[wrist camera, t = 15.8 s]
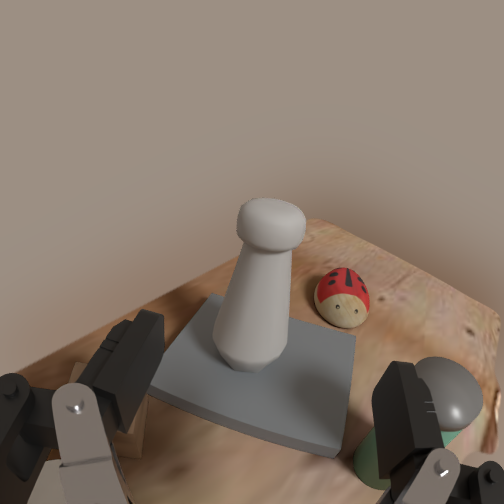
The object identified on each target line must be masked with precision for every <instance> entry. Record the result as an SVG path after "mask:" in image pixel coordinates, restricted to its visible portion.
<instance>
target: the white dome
mask: <svg viewBox="0 0 504 504" xmlns="http://www.w3.org/2000/svg"><path fill="white" fill-rule="evenodd" d="M60 465H61V459H56V460H49V461H46V462H45V464H44V466H43V468H42V470H41V472H40V475H39V477H38V479H37V481H36V484H35V486H34V488H33V491H32V493H31V495H30V498H29V500H28V503H27V504H67V503H66V499H65V496H64V492H63V488H62V484H61V480H60V476H59V466H60Z"/></svg>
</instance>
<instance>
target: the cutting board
mask: <svg viewBox="0 0 504 504" xmlns="http://www.w3.org/2000/svg"><path fill="white" fill-rule="evenodd" d="M223 300H224V297H223V296H220V295H217V294H214V293H212V294H211V295H210V296H209V297H208V299H207V300H206V301H205V303H204V304H203V305H202V306H201V308H200V309H199V310H198V311H197V313H196V314H195V315H194V316H193V318H192V319H191V320H190V321H189V323H188V324H187V325H186V326H185V328H184V329H183V330H182V331H181V333H180V334H179V335H178V336H177V338H176V339H175V340H174V341H173V343H172V344H171V345H170V346H169V348H168V349H167V350H166V351H165V353H164V354H163V357H162V360H161V363H160V365H159V367H158V369H157V371H156V373H155V375H154V377H153V379H152V381H151V383H150V386H149V388H148V390H147V394H149V395H151V396H153V397H155V398H157V399H159V400H162V401H164V402H166V403H168V404H170V405H173V406H175V407H177V408H179V409H182V410H184V411H186V412H189V413H191V414H194V415H196V416H198V417H201V418H203V419H206V420H208V421H211V422H214V423H216V424H219V425H222V426H224V427H227V428H230V429H233V430H235V431H238V432H241V433H244V434H247V435H250V436H253V437H256V438H259V439H262V440H265V441H269V442H272V443H275V444H279V445H282V446H286V447H289V448H293V449H296V450H300V451H304V452H308V453H312V454H316V455H320V456H325V457H329V458H333V459H334V457H335V456H336V455H337V454H338V452H339V451H340V450H341V446H342V440H343V434H344V428H345V422H346V416H347V409H348V402H349V395H350V387H351V380H352V371H353V362H354V353H355V342H356V336H354V335H350V334H347V333H343V332H339V331H336V330H332V329H329V328H325V327H322V326H318V325H315V324H311V323H308V322H304V321H301V320H297V319H294V318H290V317H289V321H288V337H287V344H286V346H285V348H284V350H283V351H282V353H281V354H280V356H279V358H277V359H276V360H274V361H273V362H271V363H270V364H269V365H267V366H266V367H264V368H263V369H262V370H261V371H260V372H258V373H250V372H240V371H234V370H233V369H232V368H231V366H230V365H229V364H228V363H227V362H226V361H225V360H224V359H223V357H222V356H221V354H220V352H219V351H218V349H217V347H216V345H215V343H214V341H213V336H212V334H213V329H214V324H215V321H216V318H217V316H218V313H219V310H220V308H221V305H222V302H223Z"/></svg>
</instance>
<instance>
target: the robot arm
mask: <svg viewBox="0 0 504 504" xmlns="http://www.w3.org/2000/svg"><path fill="white" fill-rule="evenodd" d="M164 347H165V342H164V316H163V315H162V314H159V313H155V312H152V311H148V310H144V309H142V310H140V312H139V313H138V315H137V316H136V318H135V319H134V321H133V322H132V321H129V320H126V319H125V320H123V321H122V322H120V323H119V324H117V325H116V326H114V327H113V328H112V329H111V331H110V332H109V334H108V335H107V337H106V339H105V340H104V341H103V342H102V344H101V345H100V348H98V350H97V351H96V352H95V354H94V355H93V357H92V358H91V360H90V361H89V363H88V364H87V366H86V367H85V369H84V370H83V372H82V373H81V375H80V376H79V378H78V379H77V380H76V382H74V383H69V384H66V385H63V386H61V387H60V388H59V389H57V390H49V389H42V388H36V387H30V385H29V383H28V381H27V380H26V379H25V378H24V377H23V376H21V375H19V374H16V373H9V374H5V375H3V376H1V377H0V504H27V503H28V500H29V498H30V495H31V493H32V491H33V488H34V486H35V484H36V481H37V479H38V477H39V475H40V472H41V470H42V468H43V466H44V464H45V461H46V459H47V457H48V455H49V453H50V451H51V449H52V448H53V449H59V451H60V456H61V465H60V466H59V476H60V480H61V484H62V488H63V492H64V496H65V499H66V503H67V504H136V503H135V500H134V498H133V496H132V494H131V492H130V489H129V487H128V484H127V482H126V479H125V476H124V474H123V471H122V468H121V465H120V462H119V459H118V456H117V453H116V450H115V447H114V444H113V441H112V440H113V438H114V436H115V434H116V432H117V431H120V432H122V433H125V434H127V433H128V430H129V428H130V426H131V424H132V422H133V420H134V417H135V415H136V413H137V411H138V409H139V407H140V405H141V402H142V400H143V398H144V396H145V394H146V392H147V390H148V388H149V386H150V383H151V381H152V379H153V377H154V375H155V373H156V371H157V369H158V367H159V365H160V363H161V360H162V357H163V353H164ZM372 410H373V418H374V427H375V437H376V447H377V458H378V471H379V479H390V481H391V485H390V486H389V487H388V488H387V489H386V490H385V492H384V493H383V495H382V496H381V497H380V499H379V500H378V501H377V503H376V504H504V470H503V469H502V467H501V466H500V465H499V464H498V463H496V462H494V461H487V462H485V463H483V464H482V465H481V466H479V468H475V467H470V466H466V465H463V464H460V463H459V460H458V458H457V457H456V455H455V454H454V453H453V452H451V451H450V450H448V449H445V447H444V443H443V439H442V434H441V430H440V426H439V422H438V418H437V414H436V413H435V411H436V410H435V407H434V403H433V399H432V396H431V392H430V389H429V388H428V386H427V385H426V383H425V382H424V380H423V379H422V378H418V376H417V373H416V369H415V366H414V364H413V363H408V362H399V361H392V362H391V363H390V365H389V366H388V368H387V369H386V371H385V373H384V374H383V376H382V377H381V379H380V380H379V382H378V384H377V385H376V387H375V389H374V391H373V394H372Z"/></svg>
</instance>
